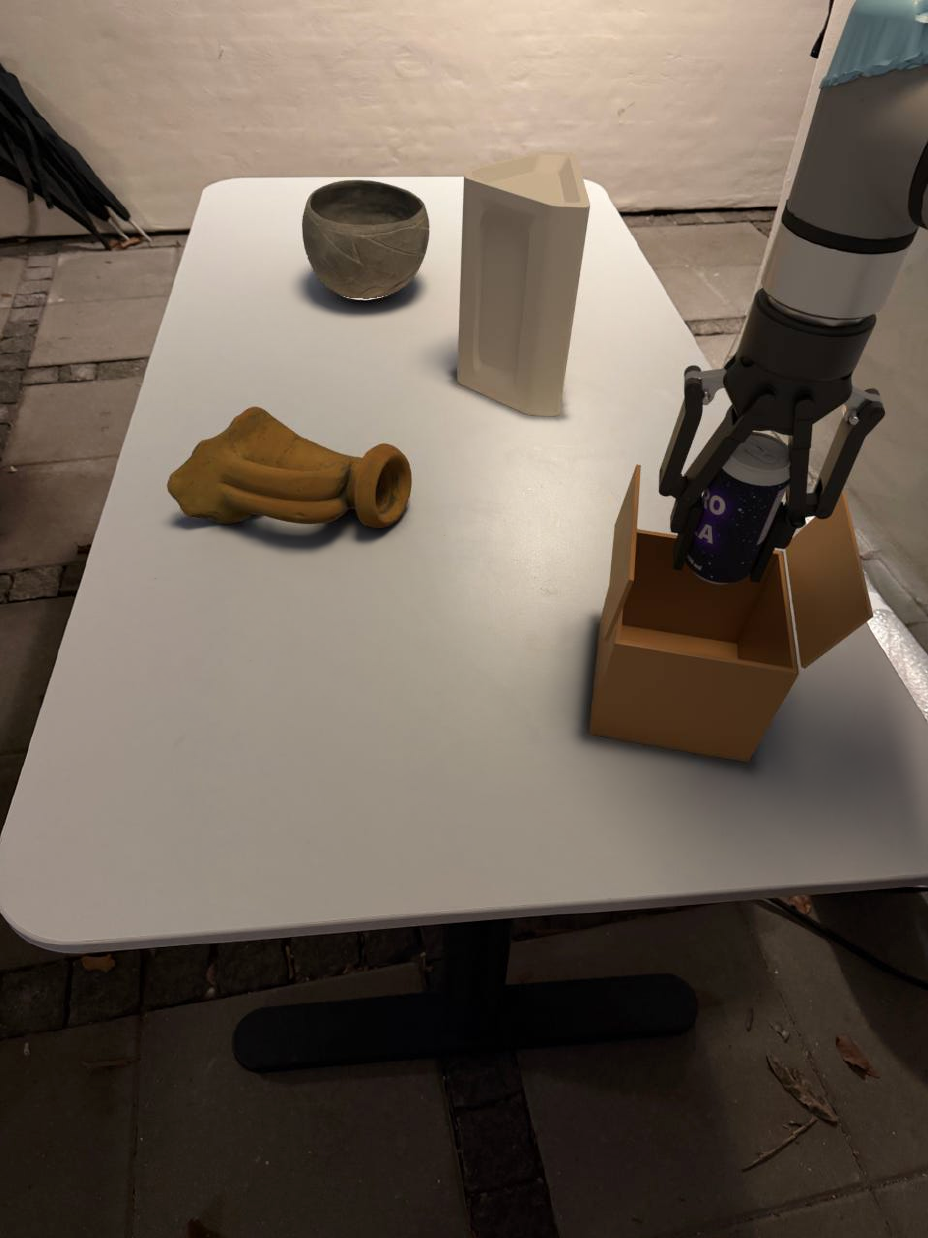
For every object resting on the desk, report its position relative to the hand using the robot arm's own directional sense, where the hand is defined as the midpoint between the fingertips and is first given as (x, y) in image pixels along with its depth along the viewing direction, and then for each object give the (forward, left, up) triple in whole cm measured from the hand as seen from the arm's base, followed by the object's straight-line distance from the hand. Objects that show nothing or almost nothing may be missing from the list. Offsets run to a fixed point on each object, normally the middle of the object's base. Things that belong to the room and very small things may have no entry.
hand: (715, 564), depth 66 cm
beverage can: (0, 0, -1) cm, 1 cm away
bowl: (+53, -76, -17) cm, 94 cm away
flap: (-9, 0, +1) cm, 9 cm away
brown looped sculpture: (+45, -17, -17) cm, 51 cm away
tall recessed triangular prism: (+25, -54, -17) cm, 62 cm away
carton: (0, 0, -17) cm, 17 cm away
